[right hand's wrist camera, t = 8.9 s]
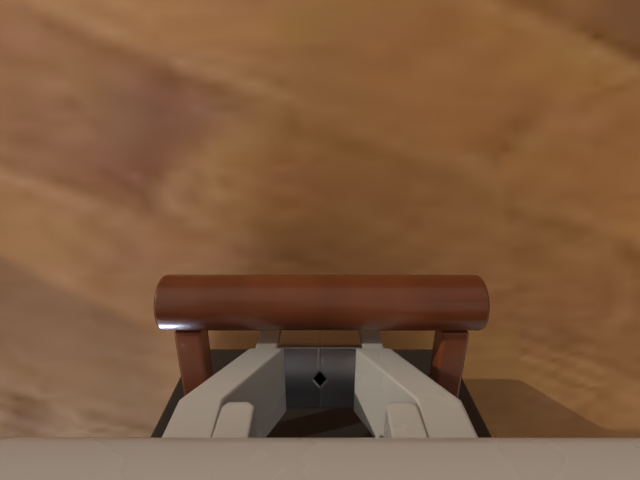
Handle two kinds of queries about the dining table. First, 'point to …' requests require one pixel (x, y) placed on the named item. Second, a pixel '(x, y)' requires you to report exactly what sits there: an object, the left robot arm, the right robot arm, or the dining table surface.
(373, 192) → the dining table surface
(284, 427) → the drawer
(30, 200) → the dining table surface
